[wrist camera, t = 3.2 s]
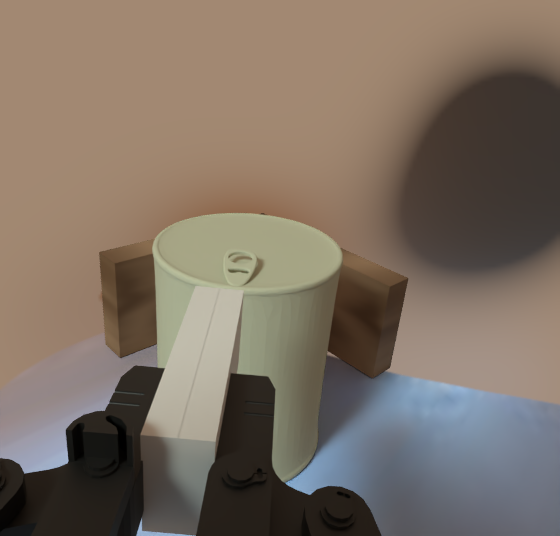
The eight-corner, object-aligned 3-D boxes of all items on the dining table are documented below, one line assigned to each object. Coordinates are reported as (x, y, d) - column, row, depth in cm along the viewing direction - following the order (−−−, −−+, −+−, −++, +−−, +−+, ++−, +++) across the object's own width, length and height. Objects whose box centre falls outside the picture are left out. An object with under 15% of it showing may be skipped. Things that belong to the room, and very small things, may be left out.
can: (133, 483, 27) (122, 266, 22) (177, 372, 35) (177, 196, 30) (317, 504, 27) (350, 290, 21) (318, 388, 35) (342, 213, 30)
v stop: (393, 380, 36) (412, 288, 33) (99, 356, 36) (91, 261, 33) (371, 299, 46) (385, 223, 43) (142, 280, 46) (139, 202, 43)
